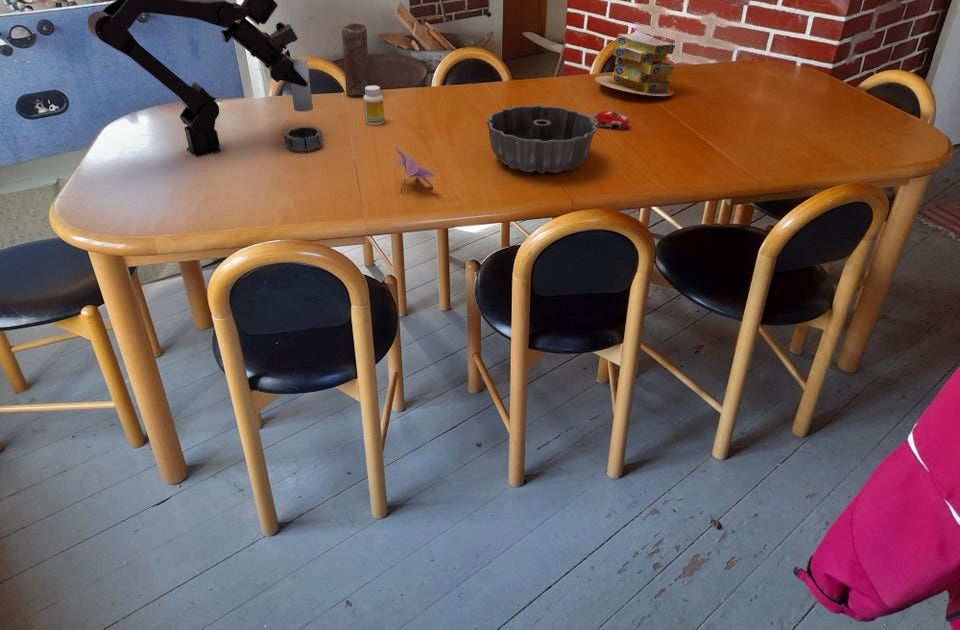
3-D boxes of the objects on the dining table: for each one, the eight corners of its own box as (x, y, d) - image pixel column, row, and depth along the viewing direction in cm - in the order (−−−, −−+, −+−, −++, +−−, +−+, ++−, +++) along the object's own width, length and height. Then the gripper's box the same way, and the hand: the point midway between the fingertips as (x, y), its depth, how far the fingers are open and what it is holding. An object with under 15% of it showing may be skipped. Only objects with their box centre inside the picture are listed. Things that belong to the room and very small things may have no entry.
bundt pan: (563, 137, 186) (566, 99, 180) (613, 173, 166) (618, 132, 160) (471, 149, 178) (471, 110, 172) (511, 189, 158) (513, 147, 152)
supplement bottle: (361, 121, 194) (358, 86, 188) (377, 117, 197) (375, 83, 191) (371, 126, 190) (369, 91, 185) (388, 122, 193) (386, 88, 188)
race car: (578, 126, 193) (579, 112, 191) (582, 120, 197) (584, 106, 195) (625, 132, 189) (627, 118, 187) (629, 126, 194) (631, 112, 191)
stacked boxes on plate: (638, 76, 234) (645, 23, 224) (690, 96, 216) (700, 40, 207) (578, 86, 224) (583, 31, 214) (628, 108, 206) (635, 49, 196)
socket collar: (297, 155, 173) (295, 141, 171) (280, 145, 178) (278, 131, 176) (329, 147, 178) (327, 133, 176) (311, 137, 183) (309, 124, 181)
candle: (373, 91, 217) (368, 23, 205) (368, 99, 211) (362, 29, 199) (349, 90, 217) (343, 22, 206) (343, 97, 211) (336, 28, 200)
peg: (299, 112, 179) (293, 64, 172) (290, 108, 182) (284, 60, 175) (316, 109, 182) (310, 61, 175) (307, 104, 185) (301, 57, 178)
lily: (437, 205, 153) (449, 162, 152) (387, 190, 148) (399, 145, 147) (421, 199, 164) (433, 159, 162) (374, 185, 159) (385, 144, 157)
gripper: (277, 22, 160) (330, 67, 170) (270, 6, 175) (320, 49, 184) (248, 59, 163) (302, 102, 172) (244, 41, 177) (294, 81, 187)
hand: (305, 82), depth 179 cm, fingers closed on peg, 5 cm apart
